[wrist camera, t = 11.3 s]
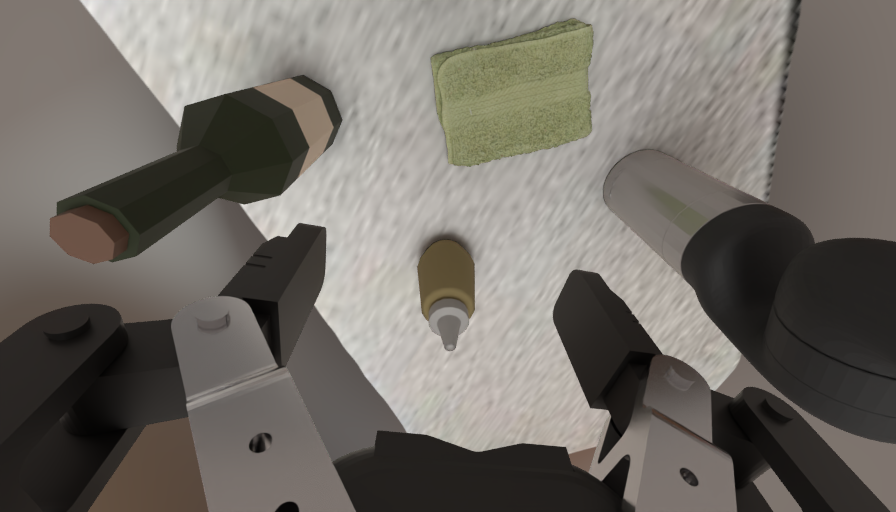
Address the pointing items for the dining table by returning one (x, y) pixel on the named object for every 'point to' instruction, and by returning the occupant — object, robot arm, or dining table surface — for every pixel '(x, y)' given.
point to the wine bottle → (203, 168)
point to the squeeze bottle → (447, 289)
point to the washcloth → (515, 94)
